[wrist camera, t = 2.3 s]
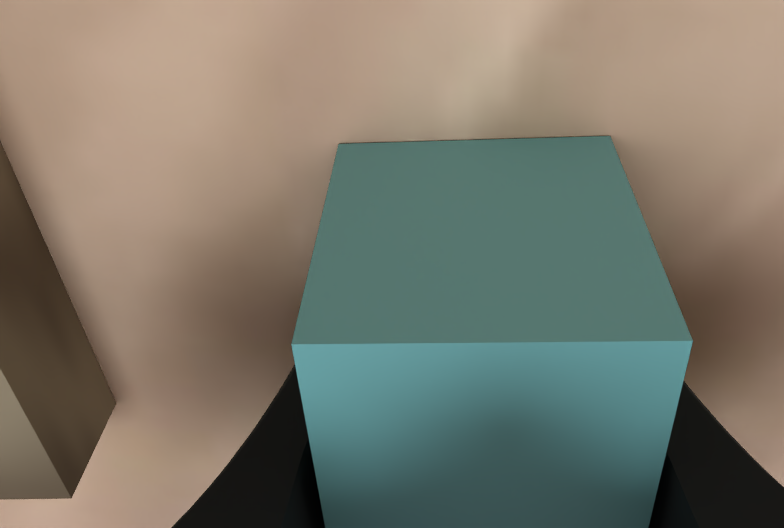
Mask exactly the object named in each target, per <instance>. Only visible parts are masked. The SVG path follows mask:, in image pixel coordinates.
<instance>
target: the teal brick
mask: <svg viewBox="0 0 784 528" xmlns="http://www.w3.org/2000/svg"><path fill="white" fill-rule="evenodd" d="M692 343H693V340H692V337H691V335H690V332H689V330H688V327H687V325H686V322H685V320H684V318H683V315H682V313H681V310H680V308H679V305H678V303H677V300H676V298H675V295H674V293H673V290H672V288H671V285H670V283H669V280H668V278H667V275H666V273H665V271H664V268H663V266H662V263H661V261H660V258H659V256H658V253H657V251H656V248H655V246H654V243H653V241H652V238H651V236H650V233H649V231H648V228H647V226H646V223H645V221H644V219H643V216H642V214H641V211H640V209H639V206H638V204H637V201H636V199H635V196H634V194H633V191H632V189H631V186H630V184H629V181H628V179H627V176H626V174H625V172H624V169H623V167H622V164H621V162H620V159H619V157H618V154H617V152H616V149H615V147H614V144H613V142H612V139H611V137H610V136H591V137H557V138H523V139H488V140H454V141H420V142H386V143H351V144H339V145H338V149H337V153H336V157H335V162H334V166H333V170H332V174H331V178H330V183H329V187H328V191H327V195H326V200H325V204H324V208H323V212H322V217H321V221H320V225H319V229H318V234H317V238H316V242H315V246H314V250H313V255H312V259H311V263H310V267H309V272H308V276H307V280H306V284H305V289H304V293H303V297H302V301H301V306H300V310H299V314H298V318H297V322H296V327H295V331H294V335H293V339H292V344H291V345H292V351H293V356H294V362H295V367H296V372H297V378H298V383H299V389H300V394H301V399H302V405H303V410H304V415H305V421H306V426H307V432H308V437H309V442H310V448H311V453H312V459H313V464H314V469H315V475H316V480H317V486H318V491H319V496H320V502H321V507H322V513H323V518H324V523H325V528H648V527H649V523H650V519H651V514H652V510H653V506H654V502H655V498H656V493H657V489H658V485H659V481H660V477H661V473H662V468H663V464H664V460H665V456H666V452H667V447H668V443H669V439H670V435H671V431H672V427H673V422H674V418H675V414H676V410H677V406H678V401H679V397H680V393H681V389H682V385H683V380H684V376H685V372H686V368H687V364H688V360H689V355H690V351H691V347H692Z"/></svg>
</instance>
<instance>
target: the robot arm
mask: <svg viewBox="0 0 784 528" xmlns="http://www.w3.org/2000/svg"><path fill="white" fill-rule="evenodd" d="M172 528H325V523H324V518H323V513H322V507H321V502H320V496H319V491H318V486H317V480H316V475H315V469H314V464H313V459H312V453H311V448H310V442H309V437H308V432H307V426H306V421H305V415H304V410H303V405H302V399H301V394H300V389H299V383H298V378H297V372H296V367H295V365H294V367H293V368H292V370H291V372H290V374H289V375H288V377H287V379H286V380H285V382H284V384H283V385H282V387H281V388H280V390H279V392H278V393H277V395H276V397H275V398H274V400H273V401H272V403H271V404H270V406H269V407H268V409H267V410H266V412H265V413H264V415H263V416H262V418H261V419H260V421H259V422H258V424H257V425H256V427H255V428H254V430H253V431H252V432H251V434H250V435H249V436H248V438H247V439H246V440H245V442H244V443H243V444H242V446H241V447H240V448H239V450H238V451H237V452H236V454H235V455H234V457H233V458H232V459H231V461H230V462H229V463H228V464H227V466H226V467H225V468H224V469H223V471H222V472H221V473H220V474H219V476H218V477H217V478H216V479H215V480H214V482H213V483H212V484H211V485H210V486H209V488H208V489H207V490H206V491H205V492H204V493H203V494H202V496H201V497H200V498H199V499H198V500H197V501H196V502H195V503H194V505H193V506H192V507H191V508H190V509H189V510H188V511H187V512H186V513H185V514H184V515H183V516H182V517H181V518H180V519H179V520H178V521H177V522H176V523H175V524H174V526H173V527H172ZM648 528H784V487H783V486H782V485H781V484H779V483H778V482H777V481H776V480H775V479H774V478H773V477H772V476H771V475H770V474H769V473H768V472H767V471H766V470H765V469H763V468H762V467H761V466H760V465H759V464H758V463H757V462H756V461H755V460H754V459H753V458H752V457H751V456H750V455H749V454H748V453H747V452H746V451H745V449H744V448H743V447H742V446H741V445H740V444H739V443H738V442H737V441H736V440H735V439H734V438H733V437H732V436H731V435H730V434H729V433H728V432H727V431H726V429H725V428H724V427H723V426H722V425H721V424H720V423H719V422H718V421H717V420H716V418H715V417H714V416H713V415H712V414H711V413H710V411H709V410H708V409H707V408H706V407H705V406H704V405H703V403H702V402H701V401H700V400H699V399H698V398H697V396H696V395H695V394H694V393H693V392H692V390H691V389H690V388H689V387H688V386H687V384H686V383H685V382H684V381H683V385H682V389H681V393H680V397H679V401H678V406H677V410H676V414H675V418H674V422H673V427H672V431H671V435H670V439H669V443H668V447H667V452H666V456H665V460H664V464H663V468H662V473H661V477H660V481H659V485H658V489H657V493H656V498H655V502H654V506H653V510H652V514H651V519H650V523H649V527H648Z"/></svg>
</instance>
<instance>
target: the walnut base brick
mask: <svg viewBox="0 0 784 528" xmlns="http://www.w3.org/2000/svg"><path fill="white" fill-rule="evenodd" d="M115 405H116V402H115V399H114V397H113V395H112V393H111V390H110V388H109V386H108V384H107V381H106V379H105V377H104V375H103V372H102V370H101V368H100V365H99V363H98V361H97V359H96V356H95V354H94V352H93V350H92V347H91V345H90V343H89V341H88V338H87V336H86V334H85V332H84V329H83V327H82V325H81V322H80V320H79V318H78V316H77V313H76V311H75V309H74V307H73V304H72V302H71V300H70V298H69V295H68V293H67V291H66V289H65V286H64V284H63V282H62V280H61V277H60V275H59V273H58V270H57V268H56V266H55V264H54V261H53V259H52V257H51V255H50V252H49V250H48V248H47V246H46V243H45V241H44V239H43V237H42V234H41V232H40V230H39V227H38V225H37V223H36V221H35V218H34V216H33V214H32V212H31V209H30V207H29V205H28V203H27V200H26V198H25V196H24V194H23V191H22V189H21V187H20V184H19V182H18V180H17V178H16V175H15V173H14V171H13V169H12V166H11V164H10V162H9V160H8V157H7V155H6V153H5V151H4V148H3V146H2V144H1V141H0V499H58V498H72V496H73V494H74V492H75V490H76V487H77V485H78V483H79V481H80V479H81V477H82V475H83V473H84V470H85V468H86V466H87V464H88V462H89V460H90V458H91V456H92V453H93V451H94V449H95V447H96V445H97V443H98V441H99V439H100V436H101V434H102V432H103V430H104V428H105V426H106V424H107V422H108V419H109V417H110V415H111V413H112V411H113V409H114V407H115Z"/></svg>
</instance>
